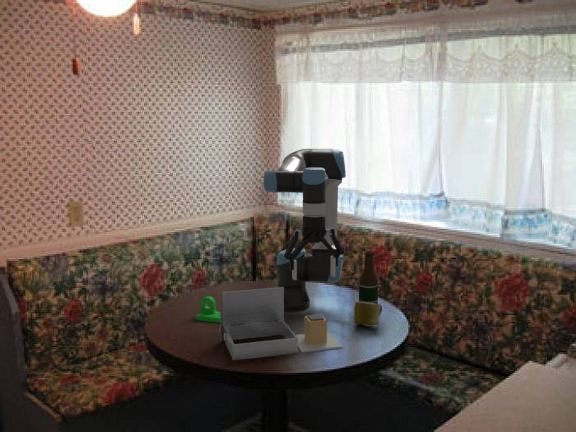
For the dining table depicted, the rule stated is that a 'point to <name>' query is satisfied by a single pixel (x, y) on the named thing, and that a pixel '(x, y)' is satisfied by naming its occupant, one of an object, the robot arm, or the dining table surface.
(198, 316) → the mechanical part
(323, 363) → the dining table surface
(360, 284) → the beer bottle
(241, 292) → the case
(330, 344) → the pad
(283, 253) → the robot arm
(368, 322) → the mug
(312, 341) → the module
